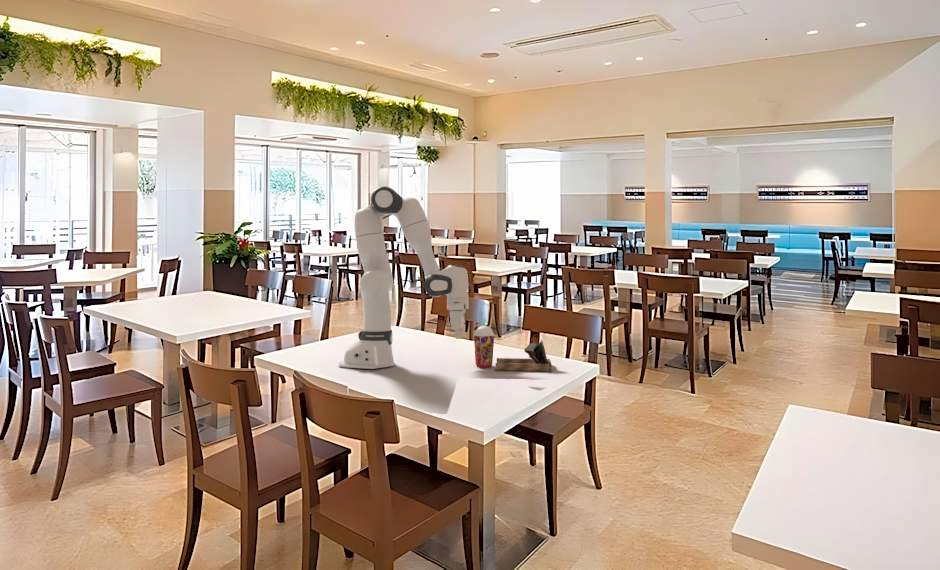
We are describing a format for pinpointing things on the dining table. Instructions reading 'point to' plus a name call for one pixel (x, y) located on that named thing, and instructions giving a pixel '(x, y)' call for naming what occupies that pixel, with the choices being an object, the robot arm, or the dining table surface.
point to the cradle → (522, 365)
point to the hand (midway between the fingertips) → (458, 338)
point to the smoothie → (484, 346)
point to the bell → (537, 353)
